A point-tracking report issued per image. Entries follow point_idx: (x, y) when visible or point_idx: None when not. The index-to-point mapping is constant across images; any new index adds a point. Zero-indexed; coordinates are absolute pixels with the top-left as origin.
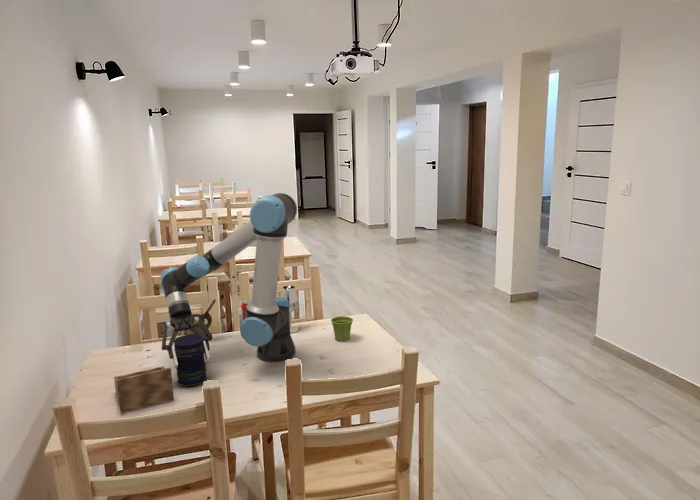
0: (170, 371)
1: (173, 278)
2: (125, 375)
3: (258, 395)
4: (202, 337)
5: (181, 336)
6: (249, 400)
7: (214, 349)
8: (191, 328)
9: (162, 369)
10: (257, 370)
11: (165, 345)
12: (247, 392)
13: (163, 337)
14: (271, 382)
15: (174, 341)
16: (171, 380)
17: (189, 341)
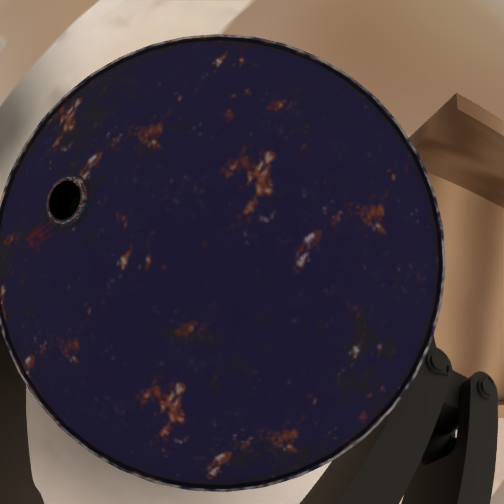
0: (450, 103)
1: None
2: (500, 407)
3: (136, 14)
4: (15, 180)
5: (214, 487)
6: (174, 4)
7: (35, 469)
8: (9, 495)
9: (495, 127)
10: (10, 166)
11: (472, 386)
12: (140, 40)
13: (486, 493)
14: (54, 61)
15: (407, 369)
16: (422, 129)
17: (223, 163)
